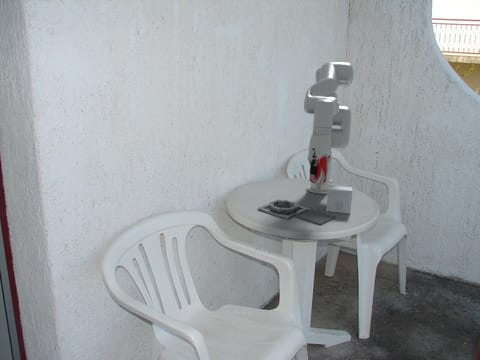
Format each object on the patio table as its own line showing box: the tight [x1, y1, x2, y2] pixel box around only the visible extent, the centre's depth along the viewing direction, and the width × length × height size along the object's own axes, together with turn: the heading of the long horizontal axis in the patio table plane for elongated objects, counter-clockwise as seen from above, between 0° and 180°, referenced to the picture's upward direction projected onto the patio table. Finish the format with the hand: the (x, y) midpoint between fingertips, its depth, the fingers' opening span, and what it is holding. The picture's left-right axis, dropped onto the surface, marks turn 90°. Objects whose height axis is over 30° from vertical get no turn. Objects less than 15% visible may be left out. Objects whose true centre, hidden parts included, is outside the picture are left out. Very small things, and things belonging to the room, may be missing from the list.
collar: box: [257, 199, 310, 220], centre depth 202 cm, size 16×16×2 cm
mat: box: [295, 208, 337, 226], centre depth 195 cm, size 12×12×1 cm
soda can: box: [309, 156, 328, 184], centre depth 189 cm, size 7×7×12 cm
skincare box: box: [325, 184, 353, 214], centre depth 203 cm, size 10×6×10 cm, turn 78°
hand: (318, 172), depth 190 cm, fingers closed on soda can, 6 cm apart
